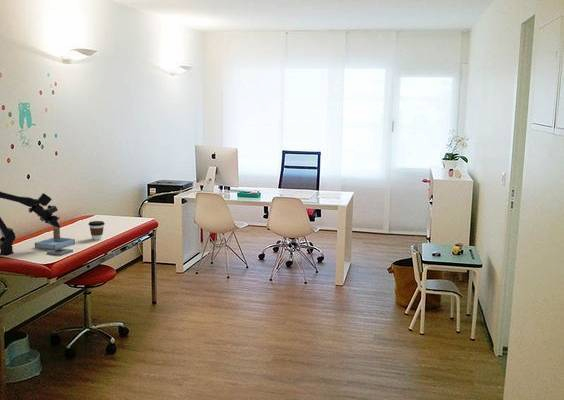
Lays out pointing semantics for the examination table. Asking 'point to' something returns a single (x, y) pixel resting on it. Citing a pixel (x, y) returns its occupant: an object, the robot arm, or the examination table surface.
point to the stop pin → (56, 230)
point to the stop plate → (59, 251)
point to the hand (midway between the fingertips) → (58, 226)
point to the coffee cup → (96, 229)
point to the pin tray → (54, 243)
